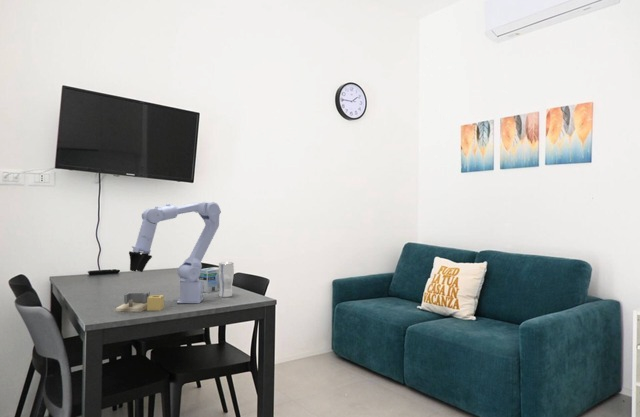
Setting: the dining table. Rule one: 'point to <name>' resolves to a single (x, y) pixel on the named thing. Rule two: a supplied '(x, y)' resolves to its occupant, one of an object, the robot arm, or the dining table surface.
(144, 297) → the housing
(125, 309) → the base plate
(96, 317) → the dining table surface
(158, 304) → the block
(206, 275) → the light bulb box
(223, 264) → the beer glass
